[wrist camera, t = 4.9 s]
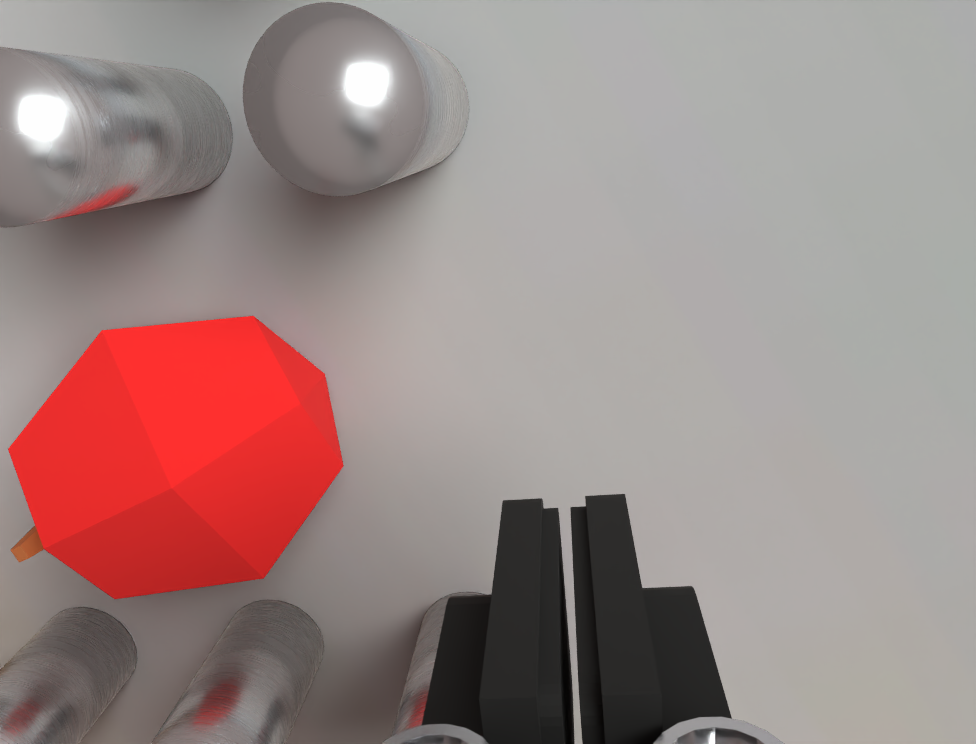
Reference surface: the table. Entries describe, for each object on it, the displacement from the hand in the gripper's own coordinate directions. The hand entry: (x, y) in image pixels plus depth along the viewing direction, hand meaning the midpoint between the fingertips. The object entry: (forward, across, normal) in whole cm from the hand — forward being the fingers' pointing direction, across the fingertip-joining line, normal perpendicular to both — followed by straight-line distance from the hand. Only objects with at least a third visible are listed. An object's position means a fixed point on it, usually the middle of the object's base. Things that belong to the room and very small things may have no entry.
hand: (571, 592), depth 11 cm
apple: (+11, +9, +1) cm, 15 cm away
